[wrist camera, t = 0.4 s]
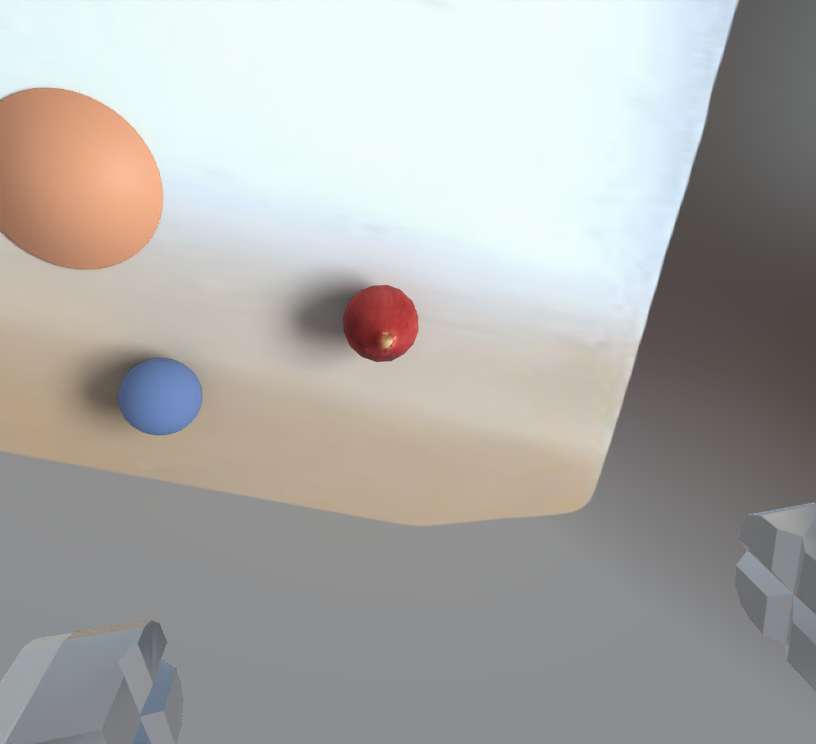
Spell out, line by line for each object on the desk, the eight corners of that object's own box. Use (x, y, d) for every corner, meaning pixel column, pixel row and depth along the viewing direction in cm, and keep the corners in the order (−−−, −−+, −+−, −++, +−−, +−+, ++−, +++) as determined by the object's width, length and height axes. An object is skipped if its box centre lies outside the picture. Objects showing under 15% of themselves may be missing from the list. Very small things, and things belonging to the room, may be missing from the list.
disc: (-69, 115, 37) (-71, 115, 36) (114, 66, 37) (113, 66, 37) (32, 287, 42) (31, 288, 42) (190, 243, 43) (189, 244, 43)
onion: (409, 338, 49) (427, 379, 42) (342, 341, 48) (349, 385, 41) (410, 272, 47) (429, 304, 39) (339, 275, 46) (345, 308, 39)
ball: (116, 358, 46) (92, 393, 40) (189, 337, 46) (174, 369, 41) (149, 419, 48) (131, 459, 43) (218, 399, 49) (208, 437, 43)
